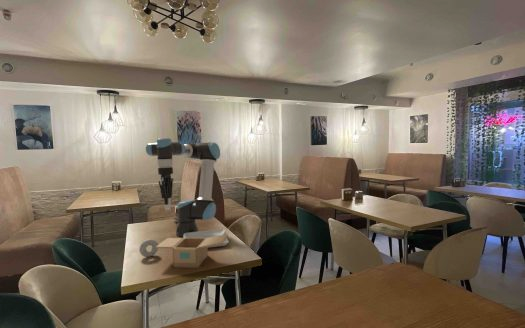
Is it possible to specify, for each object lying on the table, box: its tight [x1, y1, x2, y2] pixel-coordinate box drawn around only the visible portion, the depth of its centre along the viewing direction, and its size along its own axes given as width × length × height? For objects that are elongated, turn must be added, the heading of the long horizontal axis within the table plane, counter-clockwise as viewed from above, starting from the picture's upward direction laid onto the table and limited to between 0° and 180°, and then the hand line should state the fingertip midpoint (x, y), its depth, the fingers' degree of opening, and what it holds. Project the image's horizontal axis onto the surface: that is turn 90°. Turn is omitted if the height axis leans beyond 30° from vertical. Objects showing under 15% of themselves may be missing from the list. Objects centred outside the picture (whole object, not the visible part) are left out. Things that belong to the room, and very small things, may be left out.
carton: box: [156, 237, 209, 269], centre depth 142 cm, size 16×22×10 cm
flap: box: [199, 233, 229, 248], centre depth 140 cm, size 13×12×1 cm
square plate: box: [182, 228, 229, 249], centre depth 170 cm, size 27×27×4 cm
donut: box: [139, 238, 159, 258], centre depth 150 cm, size 10×4×10 cm, turn 124°
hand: (167, 209), depth 147 cm, fingers closed
